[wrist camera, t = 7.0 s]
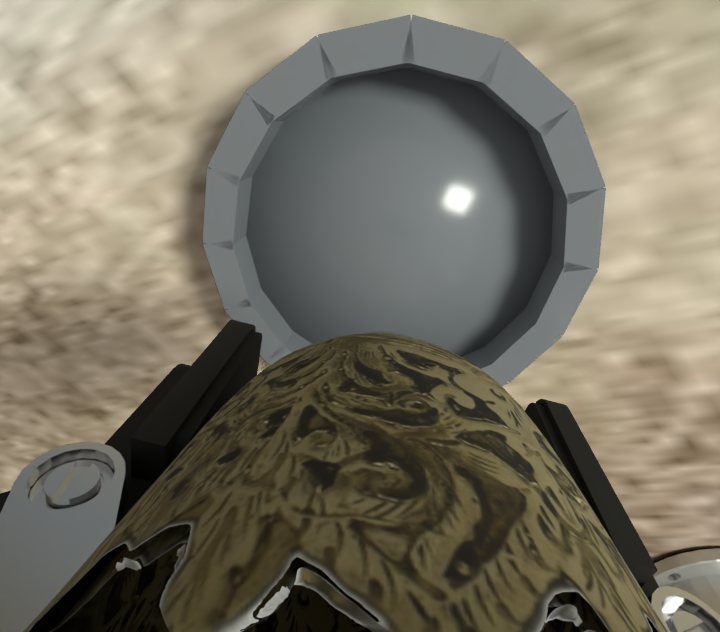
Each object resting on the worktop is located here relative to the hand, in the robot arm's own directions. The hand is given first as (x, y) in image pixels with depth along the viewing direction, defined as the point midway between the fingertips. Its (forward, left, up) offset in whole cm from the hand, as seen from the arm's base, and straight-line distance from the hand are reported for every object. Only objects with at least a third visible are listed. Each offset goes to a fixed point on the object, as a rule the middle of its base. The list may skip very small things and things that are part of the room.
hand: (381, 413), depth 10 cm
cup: (0, 0, -2) cm, 2 cm away
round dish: (0, 0, -15) cm, 15 cm away
